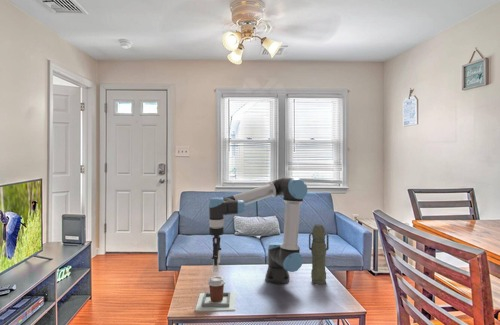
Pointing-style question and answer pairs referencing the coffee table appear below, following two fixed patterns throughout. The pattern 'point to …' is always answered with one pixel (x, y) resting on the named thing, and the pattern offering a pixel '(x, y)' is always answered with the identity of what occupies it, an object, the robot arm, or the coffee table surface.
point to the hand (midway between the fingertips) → (216, 266)
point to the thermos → (318, 254)
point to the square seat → (225, 305)
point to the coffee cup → (216, 289)
